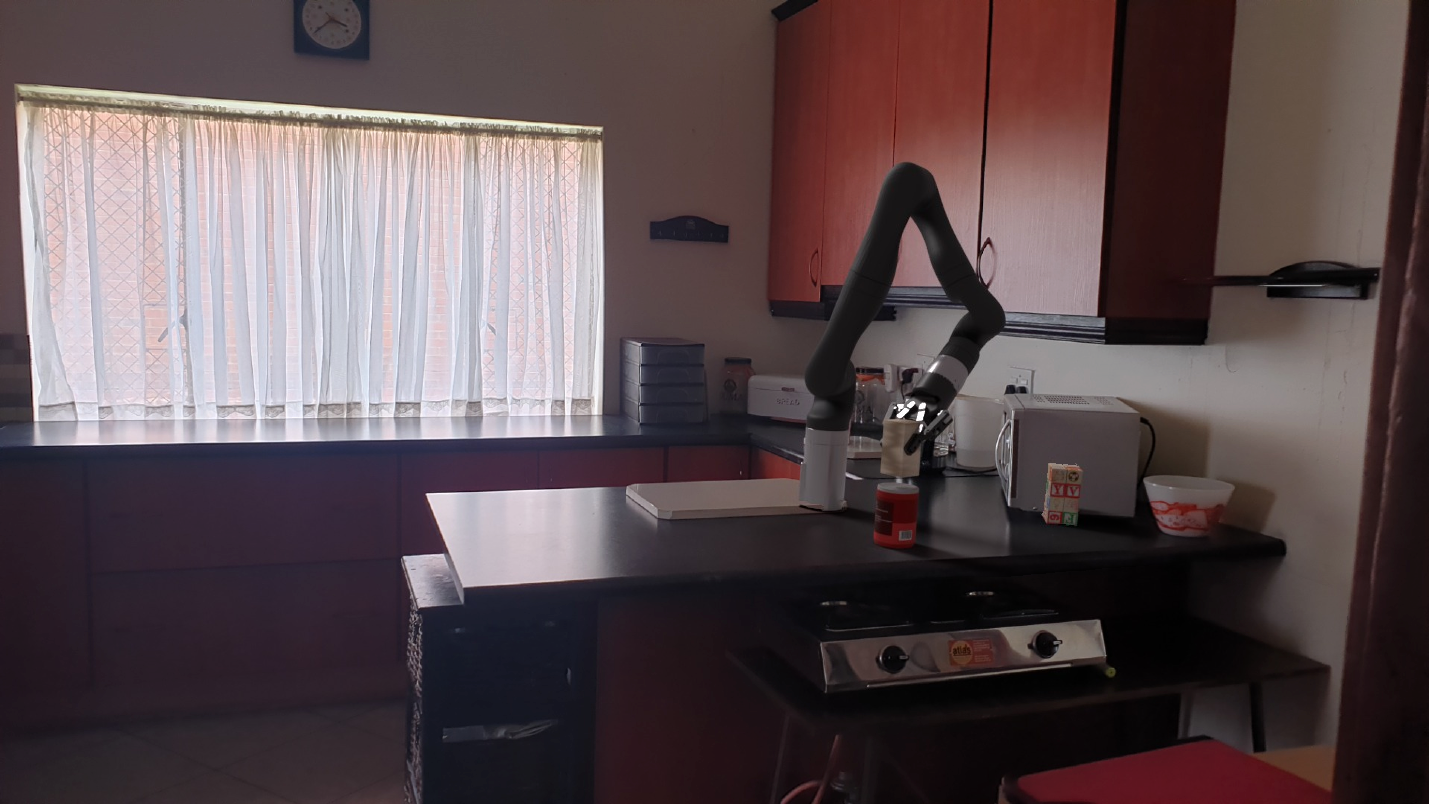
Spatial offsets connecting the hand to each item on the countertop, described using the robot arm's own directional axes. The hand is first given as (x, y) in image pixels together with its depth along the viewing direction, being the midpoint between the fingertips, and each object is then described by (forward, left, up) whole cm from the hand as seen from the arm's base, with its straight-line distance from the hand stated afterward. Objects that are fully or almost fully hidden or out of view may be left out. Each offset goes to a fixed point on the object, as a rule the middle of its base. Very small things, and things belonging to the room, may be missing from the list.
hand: (895, 450), depth 184 cm
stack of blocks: (+28, +49, -18) cm, 59 cm away
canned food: (+1, +2, -18) cm, 18 cm away
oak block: (+1, +2, -5) cm, 5 cm away
